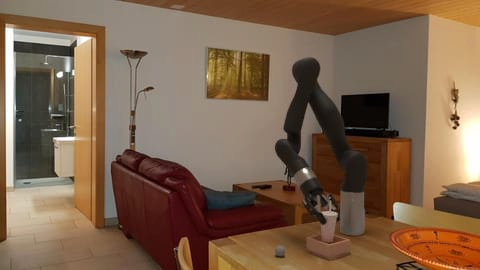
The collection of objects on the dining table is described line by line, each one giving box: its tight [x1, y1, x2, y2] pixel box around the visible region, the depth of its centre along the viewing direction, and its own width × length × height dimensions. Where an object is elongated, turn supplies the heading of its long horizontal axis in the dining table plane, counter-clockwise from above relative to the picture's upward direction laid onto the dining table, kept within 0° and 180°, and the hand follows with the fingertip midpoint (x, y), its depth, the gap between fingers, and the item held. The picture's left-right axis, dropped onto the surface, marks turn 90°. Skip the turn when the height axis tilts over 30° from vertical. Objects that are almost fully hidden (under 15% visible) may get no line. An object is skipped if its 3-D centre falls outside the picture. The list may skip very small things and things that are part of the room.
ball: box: [274, 245, 286, 257], centre depth 134 cm, size 4×4×4 cm
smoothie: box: [320, 201, 339, 242], centre depth 137 cm, size 6×6×14 cm
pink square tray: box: [305, 233, 352, 261], centre depth 138 cm, size 11×11×5 cm
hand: (331, 222), depth 136 cm, fingers closed on smoothie, 6 cm apart
